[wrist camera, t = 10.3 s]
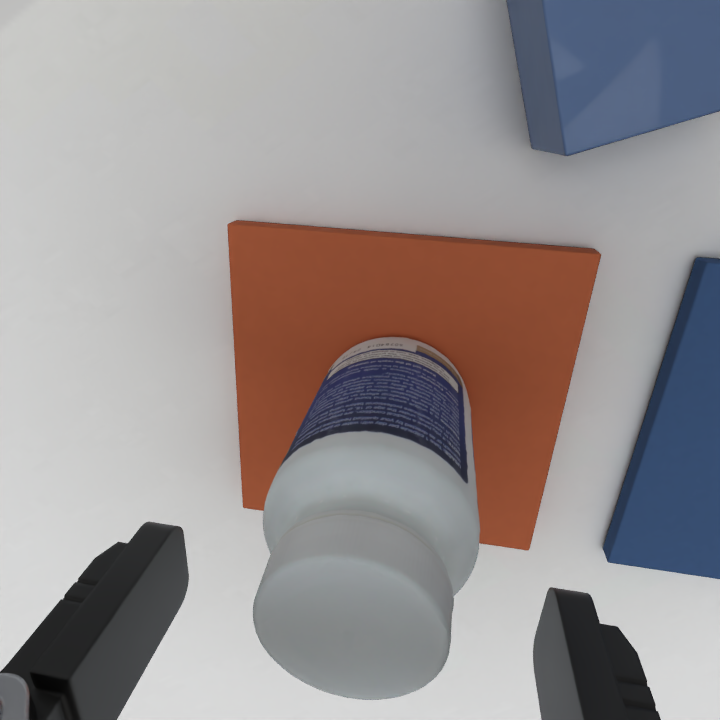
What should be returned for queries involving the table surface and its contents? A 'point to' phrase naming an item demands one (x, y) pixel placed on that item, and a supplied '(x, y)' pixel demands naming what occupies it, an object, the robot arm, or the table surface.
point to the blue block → (613, 67)
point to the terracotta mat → (417, 322)
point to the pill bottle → (372, 525)
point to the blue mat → (678, 448)
